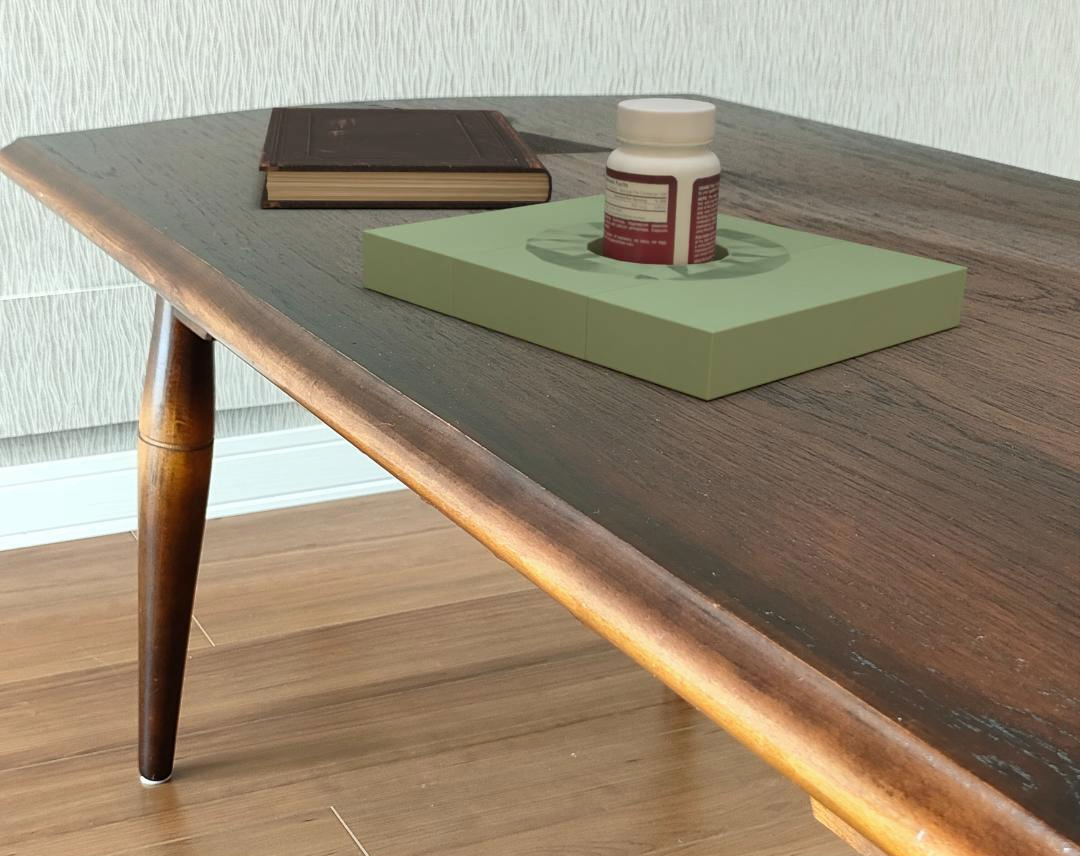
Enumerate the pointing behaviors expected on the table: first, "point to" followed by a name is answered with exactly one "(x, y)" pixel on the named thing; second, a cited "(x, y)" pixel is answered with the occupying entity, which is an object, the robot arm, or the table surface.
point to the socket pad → (667, 294)
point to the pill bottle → (662, 183)
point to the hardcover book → (398, 160)
